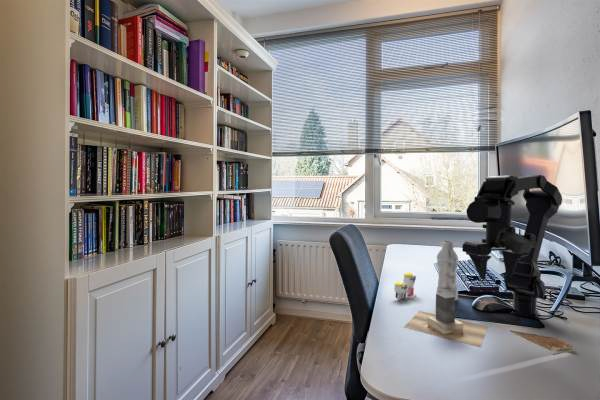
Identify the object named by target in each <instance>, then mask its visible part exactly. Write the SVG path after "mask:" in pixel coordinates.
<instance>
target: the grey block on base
mask: <svg viewBox="0 0 600 400" xmlns="http://www.w3.org/2000/svg"><path fill="white" fill-rule="evenodd" d="M435 314H436V316H432V317H428V326H429V327H430V328H432V329H434V330H435V331H437V332H439V333H440V334H442V335H444V336H446V335H452V334H457V333H462V332H463V323H462V322H460V321H458V320H456V319H457V318H456V301H455V297H454V296H452V295H450V294H447V293H438V294H437V293H435Z"/></svg>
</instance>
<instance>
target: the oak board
mask: <svg viewBox="0 0 600 400" xmlns="http://www.w3.org/2000/svg"><path fill="white" fill-rule="evenodd" d="M432 316H436V313H431V312H427V311H426V312H425V311H424V310H423V311H422V310H419V311H417V313H416V314H415V315H414V316H413V317H412V318H411V319H410V320H409V321H408V322H407V323H406V324H405V325H404V326H403V328H404V329H409V330H413V331H417V332H420V333H424V334H428V335H431V336H436V337H440V338H443V339H447V340H452V341H454V342H459V343H461V344H462V343H463V344H466V345H469V346H473V347H478V348H481V347H482V344H483V342H484V338H485V336H486V333H487V330H488V327H489V325H485V324H481V323H477V322H471V321H468V320H462V319H458V318H455V319H456V320H458V321H460V322H462V323H463V332H462V333H457V334H452V335H446V336H444V335H442V334H440V333H439V332H437V331H435V330H434V329H432V328H430V327H429V326H428V317H432Z"/></svg>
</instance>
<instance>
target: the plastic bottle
mask: <svg viewBox="0 0 600 400" xmlns="http://www.w3.org/2000/svg"><path fill="white" fill-rule="evenodd" d="M454 248H455V242H454V241H451V240H442V241H441V249H440V250H439V251H438V253H437V255H436V260H437V269H438V270H437V271H438V279H437V287H436V293H435V294H438V293H447V294H450V295H452V296H454V297H455V302H457V300H458V297H459V291H458V287H457V286H458V285H457V269H458V264H459V256H458V254H457V253H456V251H455V250H454Z"/></svg>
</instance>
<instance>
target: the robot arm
mask: <svg viewBox="0 0 600 400" xmlns="http://www.w3.org/2000/svg"><path fill="white" fill-rule="evenodd" d="M531 189H532V190H531ZM533 189H534V190H533ZM535 189H536V190H535ZM539 189H540V190H539ZM521 191H523V193H522V197H523V199H524V201H525V208H526V209H527V212H528V213H529V215H528V219H527V223H526V226H525V230H524V234H519V233H517V232H516V230H517V229H516V226H513V225H512V206H515V203H516V202H515V201H513V199H512V198H514V197H515V196H517V195H518V194H519V192H521ZM562 203H563V197H562V194H561V192H560V190H559V188H558V187H557V186H556V185H554V184H553V183H551V182H550V181H548V180H547V178H546V176H545V175H542V174H526V175H523V176H515V175H492V176H491V175H490V176H486V177H485V180H483V182H482V184H481V186H480V188H479V191H478V192H477V195H476V196H474V198H473V201H472V202H470V203H469V204H468V206H467V208H466V211H465V213H466V216H467V218H468V220H469V221H471V222H472V223H475V224H476V223H477V224H482V229H485V238H481V241H476V240H469V241H467V240H466V241H464V242H463V244H462V253H463V252H464V253H465V255H468V257H469V258H470V259H471V261H472V264H473V265H474V267H475V270H476V271H477V273H478V276H479V278H480V280H486V276H487V268H488V261H489V260H490V259H491V258H492V255H490V254H491V253H492V252H496V251H497V252H499V251H501V252H502V257H503V258H502V259H503V263H504V270H505V271H504V275H503V280H504V286H505V290H506V291H509V292H513V298H512V299H513V303H512V306H513V307H514V308H515V312H513V311H512V312H511V311H510V314H512V315H515V316H522V317H527V318H532V319H539V310H538V308H537V305H538V304H537V303H538V301H537V300H538V299H539V298H540V299H544V298H545V295H546V291H547V288H546V286H545V285H544V283H543V281H542V279H541V277H542V276H541V275H542V273H541V271H540V269H539V266H538V264H537V263H538V260H539V257H540V252H541V249H542V245H543V240H544V237H545V233H546V230H547V229H546V228H547V225H548V222H549V219H551V218H552V217H553V216H555V214H557V213H558V211H559V207H560V206H561V205H562ZM483 223H484V224H483Z"/></svg>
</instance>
